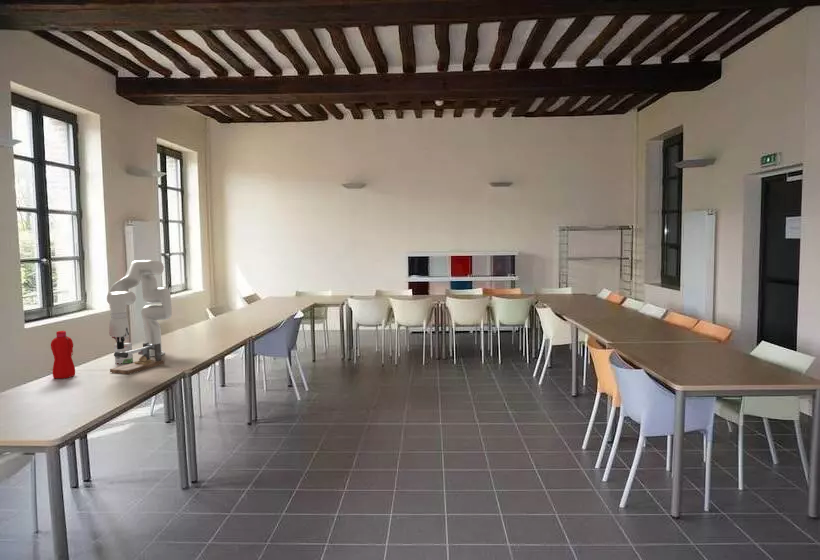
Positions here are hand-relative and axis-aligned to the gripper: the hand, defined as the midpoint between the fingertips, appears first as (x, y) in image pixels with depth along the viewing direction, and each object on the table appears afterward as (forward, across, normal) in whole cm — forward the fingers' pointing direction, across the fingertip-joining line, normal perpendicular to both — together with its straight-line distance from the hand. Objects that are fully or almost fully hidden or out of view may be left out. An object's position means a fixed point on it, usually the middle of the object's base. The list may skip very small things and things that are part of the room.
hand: (120, 348), depth 308 cm
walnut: (+9, 0, +15) cm, 18 cm away
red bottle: (+14, -23, -16) cm, 31 cm away
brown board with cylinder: (+13, 0, +11) cm, 17 cm away
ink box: (+13, -19, +19) cm, 30 cm away
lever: (+6, 0, +11) cm, 13 cm away
